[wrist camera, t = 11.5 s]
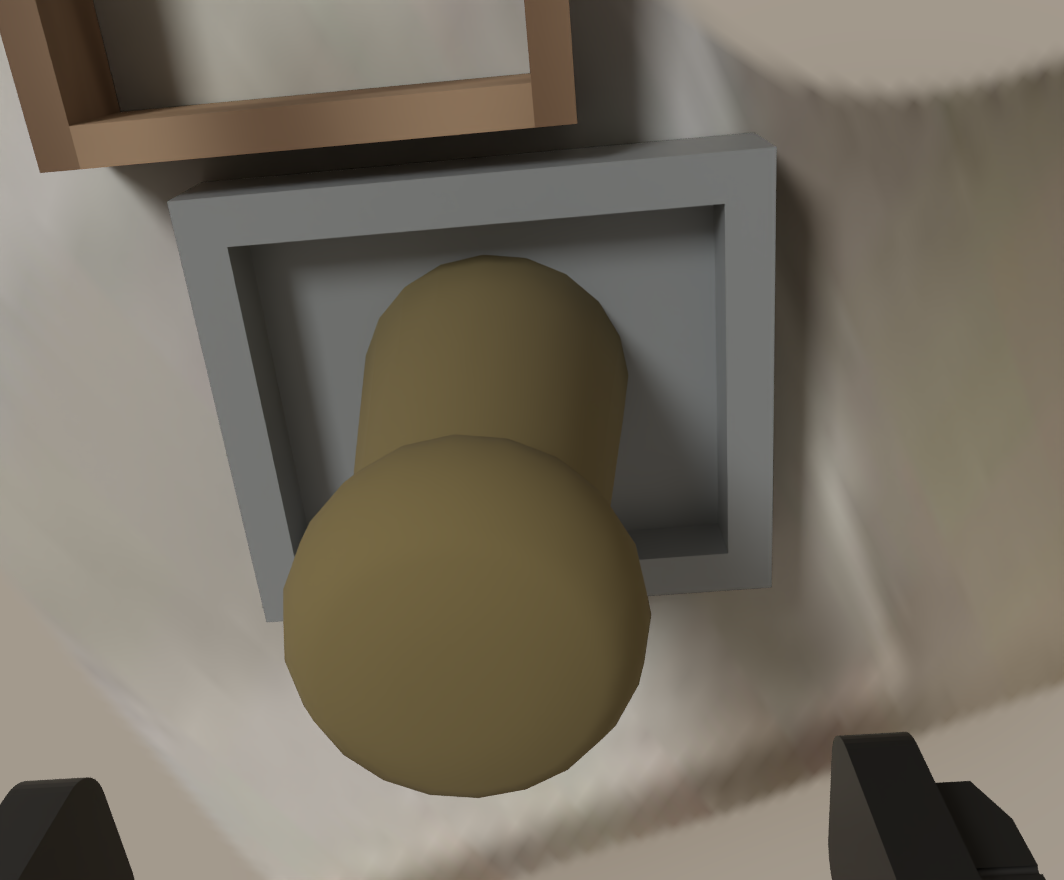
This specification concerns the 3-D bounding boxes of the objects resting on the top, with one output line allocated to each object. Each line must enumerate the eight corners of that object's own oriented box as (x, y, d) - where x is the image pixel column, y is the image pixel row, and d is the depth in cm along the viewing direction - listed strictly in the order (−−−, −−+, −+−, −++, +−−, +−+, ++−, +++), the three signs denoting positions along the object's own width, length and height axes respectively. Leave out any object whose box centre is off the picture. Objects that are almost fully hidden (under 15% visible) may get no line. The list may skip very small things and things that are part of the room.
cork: (680, 343, 22) (793, 629, 12) (539, 543, 24) (537, 926, 14) (445, 201, 21) (354, 389, 11) (318, 424, 23) (146, 753, 13)
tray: (754, 132, 21) (776, 146, 19) (753, 540, 25) (771, 587, 23) (201, 182, 22) (166, 201, 20) (288, 573, 26) (266, 622, 24)
